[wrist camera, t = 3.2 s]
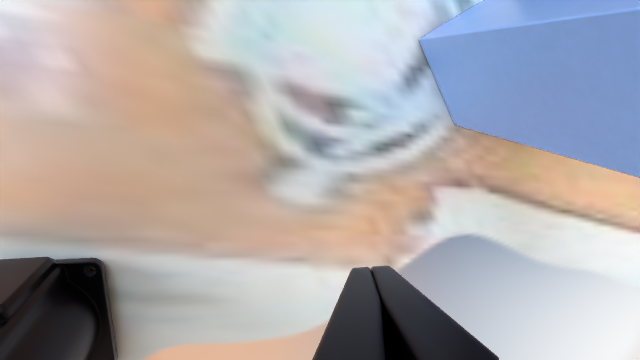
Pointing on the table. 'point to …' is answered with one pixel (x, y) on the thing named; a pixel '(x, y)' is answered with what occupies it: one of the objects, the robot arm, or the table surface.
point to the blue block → (546, 76)
